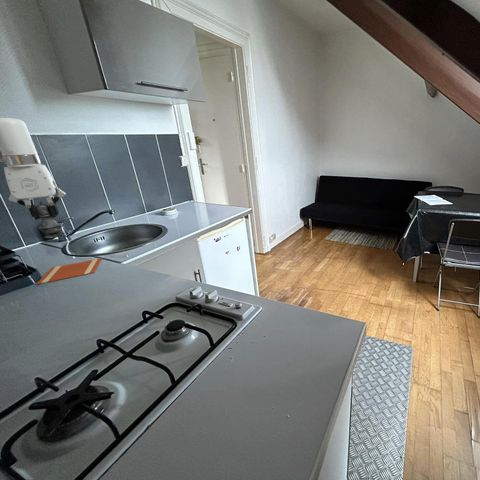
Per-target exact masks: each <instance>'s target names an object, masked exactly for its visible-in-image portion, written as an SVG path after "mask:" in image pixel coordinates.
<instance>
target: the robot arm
mask: <svg viewBox="0 0 480 480" xmlns="http://www.w3.org/2000/svg"><path fill="white" fill-rule="evenodd" d="M0 153H1V158H0V164H4V165H5V166H4V167H3V171H4V172H3V173H4V177H5V181H6V183H7V186H8V189H9V192H10V193H9V196H8V201H9V202H13V203H16V204H19V205H21V206H23V207H24V208H26V209H28V211H29V212H30V213H29V214H30V215H31V217H32V218H34V220H35V221H36V220H37V221H38V220H41V217H39V215H40V214H39V212H38V210H37V205H35V202H34V199H39V198H45V200H46V201H47V203H48V208H49V210H50V212H51V215H52V217H54V218H57V217H59V214H60V212H59V208H58V206H57V203H58V202H59V201H60V200H61V199H62V198H64V197H66V196H67V193H66V192H65V191H64V190H62V189H61V188H59V186H57V184H56V182H55V180H54V177H53V176H52V174H51V172H50V171H49V169H48V168H47V165H46V164H42V161H41V159H40V157H39V154H38V151H37V148H36V146H35V144H34V141H33V138H32V136H31V134H30V131H29V128H28V126H27V124H26V122H25V121H23V120H22V119H20V118H14V117H0ZM54 195H56V196H54Z"/></svg>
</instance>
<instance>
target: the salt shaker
mask: <svg viewBox="0 0 480 480" xmlns="http://www.w3.org/2000/svg"><path fill="white" fill-rule="evenodd" d="M48 206H49V204H45V203H43V202H42V201H39V204H38V205H36V207H37V210H38V212H39V214H40V215H39V217H41V218H40V220H41V222H42V224H41V226H39V227H38V229H39V230H40V231H41V232H42V233H43V234H45V235H44V236H43V237H44V239H52V238H53V239H54V238H57V237H61V236H64V235H66V232H63V231H62V229H63V226H62V225H63V223H61V222H58V221H56V219H55V217H52V215H51V212H50V210H49V208H48Z"/></svg>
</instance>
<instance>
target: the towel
mask: <svg viewBox="0 0 480 480" xmlns="http://www.w3.org/2000/svg"><path fill="white" fill-rule="evenodd" d="M102 260H103V258H95V259H90V260H84V261H79V262H74V263H70V264H69V263H68V264H63V265H57V266H53V267H51V268H50V269H48V270H47V272H46V273H44V275H43V276H42V277H41V278H40V279H39V280H38V281H37V282H36V286H39V285H42V284H47V283H53V282H57V281H62V280H66V279H72V278H76V277H81V276H87V275H92V274H95V272H96V271H97V269H98V267H99V265H100V263H101V262H102Z"/></svg>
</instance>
